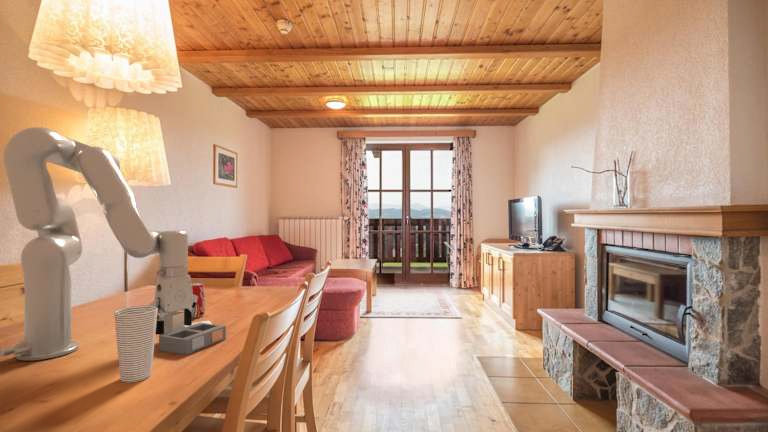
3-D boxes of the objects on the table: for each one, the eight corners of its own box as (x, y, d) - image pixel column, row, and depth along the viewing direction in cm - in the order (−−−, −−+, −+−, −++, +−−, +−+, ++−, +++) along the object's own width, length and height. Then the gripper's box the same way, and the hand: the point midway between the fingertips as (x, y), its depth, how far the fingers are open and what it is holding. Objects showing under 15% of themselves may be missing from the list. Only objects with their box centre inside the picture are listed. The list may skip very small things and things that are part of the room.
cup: (109, 388, 83) (109, 315, 83) (118, 373, 91) (118, 307, 91) (154, 381, 86) (155, 312, 86) (160, 367, 94) (160, 304, 94)
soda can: (199, 319, 139) (199, 285, 139) (179, 318, 139) (179, 285, 139) (208, 314, 146) (208, 282, 146) (189, 314, 146) (190, 282, 146)
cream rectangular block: (172, 342, 113) (172, 315, 113) (162, 341, 114) (162, 314, 114) (184, 338, 116) (184, 312, 116) (174, 337, 118) (174, 311, 118)
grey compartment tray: (187, 355, 103) (187, 340, 103) (158, 350, 106) (159, 335, 106) (226, 339, 116) (226, 325, 116) (200, 335, 119) (200, 322, 119)
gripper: (156, 277, 106) (156, 339, 106) (206, 269, 122) (205, 323, 122) (137, 275, 108) (137, 336, 108) (187, 267, 125) (187, 321, 125)
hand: (173, 329), depth 115 cm, fingers open, 9 cm apart
